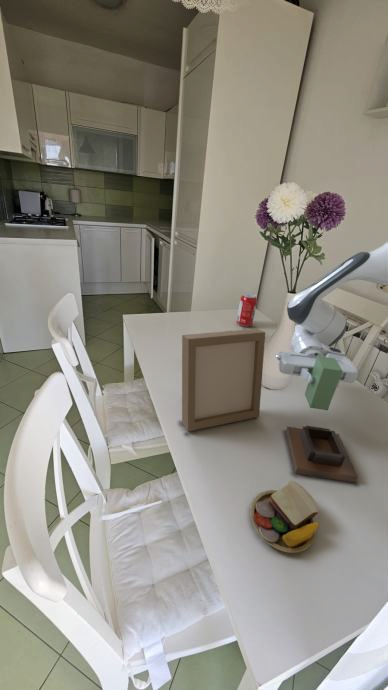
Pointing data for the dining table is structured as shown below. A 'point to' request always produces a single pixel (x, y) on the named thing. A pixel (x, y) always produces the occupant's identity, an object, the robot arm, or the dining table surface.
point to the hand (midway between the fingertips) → (324, 383)
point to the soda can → (247, 309)
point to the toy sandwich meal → (285, 517)
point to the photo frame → (221, 377)
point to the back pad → (323, 382)
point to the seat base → (319, 453)
